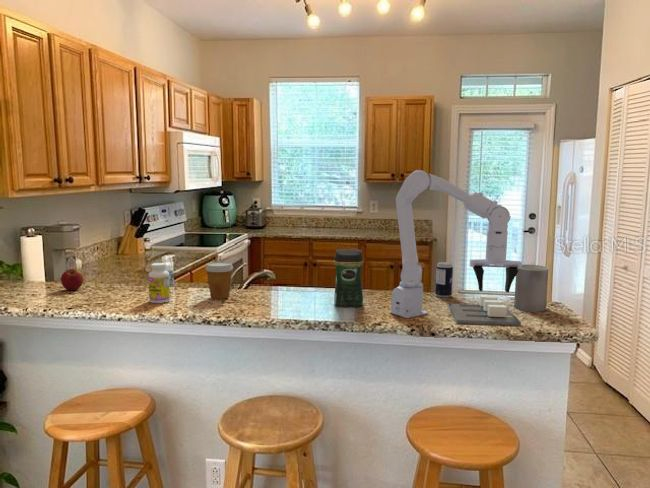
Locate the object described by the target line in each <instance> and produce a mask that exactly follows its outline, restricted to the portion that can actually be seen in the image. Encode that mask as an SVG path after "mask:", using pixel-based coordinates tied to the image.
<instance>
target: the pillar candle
mask: <svg viewBox="0 0 650 488" xmlns="http://www.w3.org/2000/svg"><path fill="white" fill-rule="evenodd" d="M517 269H518V273H517V275H516V276H515V281H514V282H515V286H514V304H513V305H514V306H513V307H514V309H516V310H518V309H519V311H522V310H523V312H528V311H529V313H538V312H540V313H541V312H545V311H546V308H547V300H548V298H547V297H548V282H549V280H548V279H549V267H547V266H543V265H539V264H534V263H533V262H532V263H531V264H522V266H521V268H517Z"/></svg>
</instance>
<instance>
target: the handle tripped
mask: <svg viewBox="0 0 650 488" xmlns="http://www.w3.org/2000/svg"><path fill="white" fill-rule="evenodd" d="M507 309H508V307H507V306H506V304H505V305H504V304H502V305H488V313H487V314H488V316H489V317H507Z"/></svg>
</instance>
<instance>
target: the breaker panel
mask: <svg viewBox="0 0 650 488" xmlns="http://www.w3.org/2000/svg"><path fill="white" fill-rule="evenodd" d="M448 307H449V308H448ZM447 308H448V310H449V309H450V310H449V311H451V312H450V313H452V314H451V315H453V316H452V317H453V320H454V321H455V324H469V325H487V326H488V325H492V326H514V327H515V326H517V327H521V325H522V322H521V321H520V320H519V318H518V317H517V316H516V315H514V314H513V313H512V312H511V311H510V310H509V309H508V308H507V317H489V316H488V314H487V313H488V311H484V309H483V306H480V304H468V303H447Z"/></svg>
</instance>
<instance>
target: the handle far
mask: <svg viewBox="0 0 650 488" xmlns="http://www.w3.org/2000/svg"><path fill="white" fill-rule="evenodd" d="M484 300H498V296H497V295H483V294H482V295H479V305H480V306H483V304H484Z"/></svg>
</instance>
